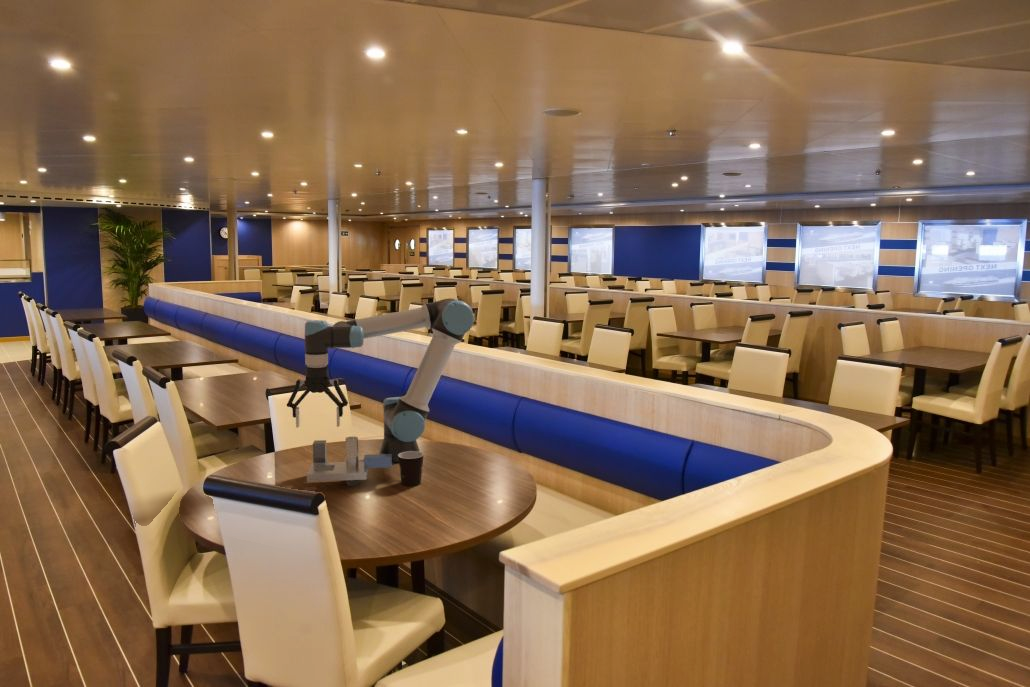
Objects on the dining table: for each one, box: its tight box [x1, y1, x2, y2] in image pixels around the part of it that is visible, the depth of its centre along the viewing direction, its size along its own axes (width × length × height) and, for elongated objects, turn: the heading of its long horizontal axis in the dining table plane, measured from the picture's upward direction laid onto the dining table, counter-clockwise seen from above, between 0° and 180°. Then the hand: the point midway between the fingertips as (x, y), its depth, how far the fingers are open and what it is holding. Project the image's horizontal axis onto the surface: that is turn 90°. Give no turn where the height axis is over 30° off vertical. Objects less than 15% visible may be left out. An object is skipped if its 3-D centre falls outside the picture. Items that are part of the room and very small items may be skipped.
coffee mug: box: [398, 451, 425, 488], centre depth 238 cm, size 12×9×10 cm
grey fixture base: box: [306, 436, 393, 487], centre depth 235 cm, size 27×12×16 cm, turn 98°
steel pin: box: [312, 439, 328, 463], centre depth 244 cm, size 4×4×12 cm
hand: (318, 426), depth 243 cm, fingers open, 13 cm apart
